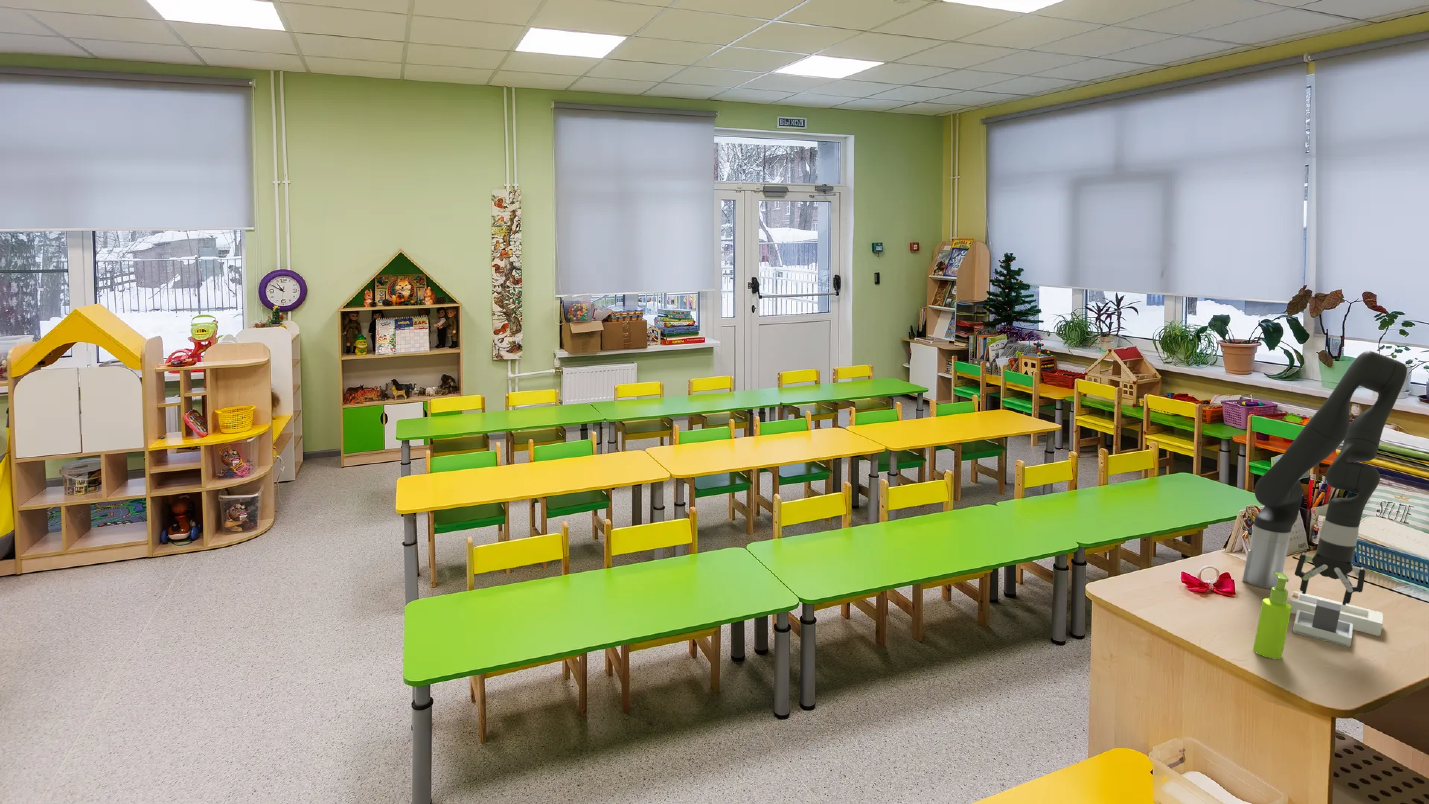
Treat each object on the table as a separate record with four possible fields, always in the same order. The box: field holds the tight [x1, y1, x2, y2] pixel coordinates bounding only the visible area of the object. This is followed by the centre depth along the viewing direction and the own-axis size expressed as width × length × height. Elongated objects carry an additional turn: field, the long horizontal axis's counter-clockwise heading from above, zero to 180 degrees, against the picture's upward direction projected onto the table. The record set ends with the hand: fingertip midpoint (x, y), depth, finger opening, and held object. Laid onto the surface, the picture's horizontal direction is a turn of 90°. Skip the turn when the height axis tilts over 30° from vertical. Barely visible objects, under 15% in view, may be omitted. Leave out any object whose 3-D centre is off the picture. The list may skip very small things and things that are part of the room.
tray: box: [1292, 610, 1354, 649], centre depth 219 cm, size 12×11×2 cm
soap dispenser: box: [1252, 572, 1292, 660], centre depth 205 cm, size 6×7×20 cm
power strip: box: [1289, 590, 1384, 637], centre depth 228 cm, size 20×9×4 cm, turn 52°
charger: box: [1312, 599, 1341, 633], centre depth 219 cm, size 5×7×7 cm
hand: (1323, 598), depth 218 cm, fingers open, 8 cm apart
